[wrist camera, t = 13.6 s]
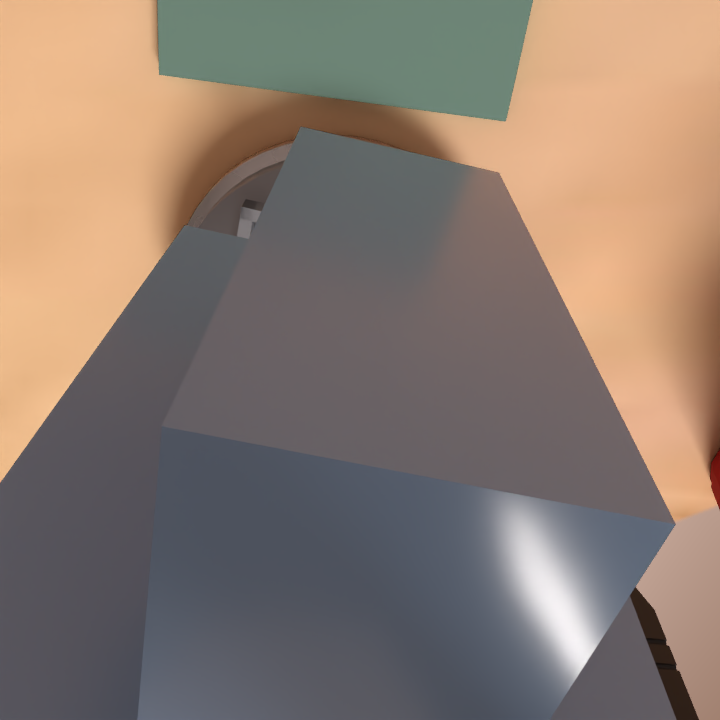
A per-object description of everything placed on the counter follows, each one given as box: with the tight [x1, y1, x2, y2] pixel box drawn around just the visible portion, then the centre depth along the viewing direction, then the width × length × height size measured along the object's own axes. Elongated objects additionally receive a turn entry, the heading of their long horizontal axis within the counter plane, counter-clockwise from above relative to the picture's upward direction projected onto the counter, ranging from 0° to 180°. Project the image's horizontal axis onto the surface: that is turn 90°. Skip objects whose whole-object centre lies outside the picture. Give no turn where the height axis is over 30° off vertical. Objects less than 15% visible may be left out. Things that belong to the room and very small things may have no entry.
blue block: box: [0, 127, 676, 720], centre depth 10 cm, size 7×12×11 cm, turn 168°
